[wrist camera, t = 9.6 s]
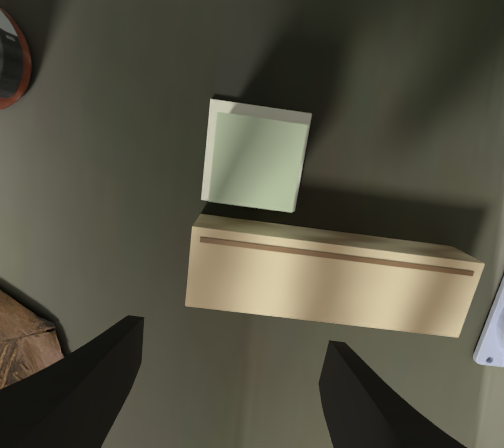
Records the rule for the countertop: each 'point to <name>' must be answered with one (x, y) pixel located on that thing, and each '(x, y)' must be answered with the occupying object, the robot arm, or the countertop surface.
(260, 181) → the block
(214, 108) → the grey pad
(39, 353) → the wooden fragment
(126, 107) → the countertop surface
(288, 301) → the ash board
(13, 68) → the supplement bottle
